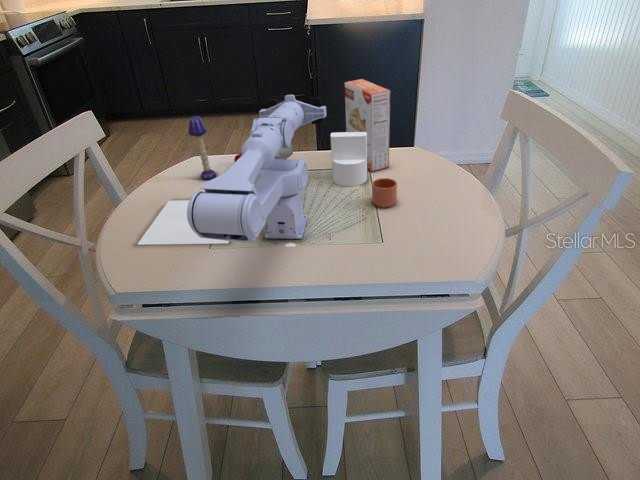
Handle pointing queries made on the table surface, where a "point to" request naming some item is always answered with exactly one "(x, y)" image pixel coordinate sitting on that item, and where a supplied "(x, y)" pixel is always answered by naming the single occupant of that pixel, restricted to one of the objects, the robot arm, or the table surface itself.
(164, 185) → the table surface
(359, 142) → the cylinder with rectangular tab
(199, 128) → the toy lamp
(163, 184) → the table surface
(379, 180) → the pot
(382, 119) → the cracker box
